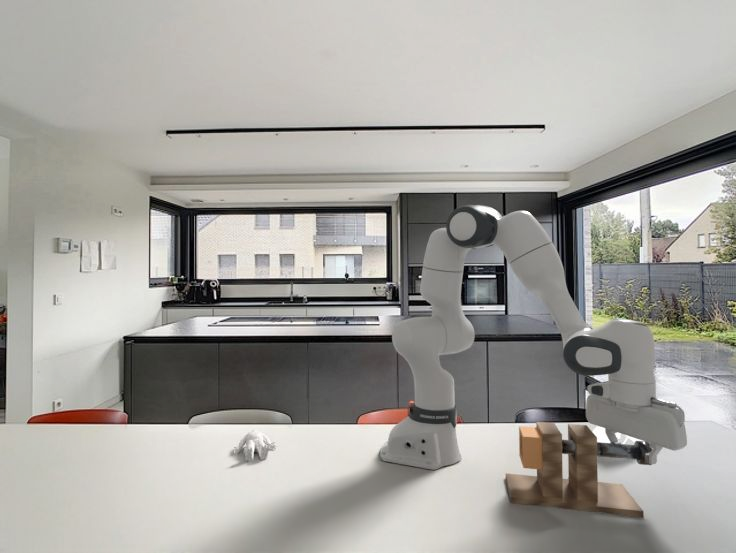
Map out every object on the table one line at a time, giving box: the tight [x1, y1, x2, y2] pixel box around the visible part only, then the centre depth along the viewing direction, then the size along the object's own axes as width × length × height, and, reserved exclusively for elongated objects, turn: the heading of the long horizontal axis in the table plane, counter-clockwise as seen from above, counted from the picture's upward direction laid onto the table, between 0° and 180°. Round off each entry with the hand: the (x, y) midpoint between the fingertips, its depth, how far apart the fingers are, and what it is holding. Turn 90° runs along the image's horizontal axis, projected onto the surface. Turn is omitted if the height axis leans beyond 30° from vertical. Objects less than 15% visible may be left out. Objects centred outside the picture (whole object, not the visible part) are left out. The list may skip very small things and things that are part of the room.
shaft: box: [562, 439, 653, 466], centre depth 94 cm, size 26×5×5 cm, turn 77°
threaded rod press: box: [505, 421, 645, 518], centre depth 95 cm, size 26×12×15 cm, turn 77°
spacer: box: [518, 426, 543, 470], centre depth 97 cm, size 4×7×7 cm, turn 167°
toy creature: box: [233, 429, 277, 463], centre depth 120 cm, size 12×6×12 cm
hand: (632, 456), depth 92 cm, fingers closed on shaft, 6 cm apart
